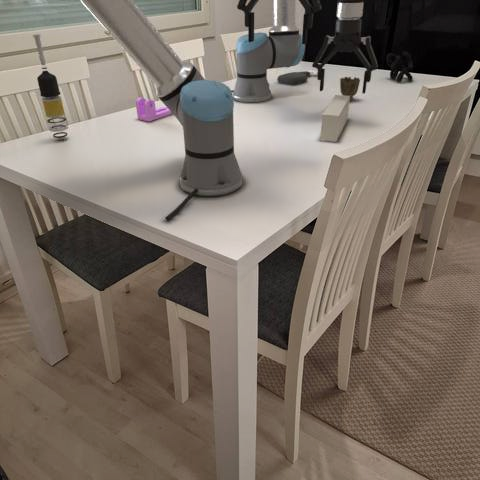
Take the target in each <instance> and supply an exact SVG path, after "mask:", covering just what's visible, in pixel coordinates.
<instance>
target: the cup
mask: <svg viewBox="0 0 480 480" xmlns="http://www.w3.org/2000/svg"><path fill="white" fill-rule="evenodd" d="M360 82H361V78H359V77H357V76H355V77H354V78H352V77H351V76H349V77H348V76H344V77H340V79H339V86H340V87H339V89H340V93H341V95H343V96H350V101H353V99H354V96H356V95H357V93H358V90H359V87H360Z"/></svg>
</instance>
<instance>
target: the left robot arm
mask: <svg viewBox="0 0 480 480" xmlns="http://www.w3.org/2000/svg"><path fill="white" fill-rule="evenodd" d="M79 1H80V2H81V3H82V4H83V6H84V7H85V8H86V9H87V10H88V11H89V12H90V14H92V15H93V17H94V18H95V19H96V20H97V21H98V22H99V24H100V25H102V27H103V28H104V29H105V30H106V31H107V33H108V34H109V35H110V36H111V37H112V38H113V40H115V41H116V43H117V44H118V45H119V46H120V47H121V49H122V50H123V51H124V52H125V53H126V54H127V55H128V56H129V57H130V58H131V59H132V61H133V62H134V63H135V64H136V65H137V66H138V68H139V69H140V70H142V72H143V73H144V74H145V76H147V77H148V79H149V80H150V81H151V82H152V83H153V84H154V86H155V95H156V97H157V98H158V99H159V100H160V101H161V102H162V104H164V105H165V107H167V108H168V109H169V110H170V111H171V112H172V115H173V116H174V117H175V118H176V119H177V121H178V122H179V124H180V125H181V126H182V130H183V141H184V142H183V143H184V154H185V155H184V158H183V164H182V168H181V171H180V177H179V183H180V184H179V185H180V188H181V189H182V191H184V192H186V193H187V194H188V195H187V196H186V198H185V199H184V200H183V201H181V203H180V204H179V205H178V206H177V207H175V209H174V210H172V211H171V212H170V213H169V214H168V215H166V216H165V220H166V221H169V220H171V219H172V218H173V217H174V216H176V215H177V214H178V213H179V212H180V211H181V210H183V208H184V207H185V206H186V205H187V204H188V203H189V201H190V200H191V199H192V198H194V196H199V197H221V196H224V195H229V194H232V193H234V192H235V191H237V190H239V189H240V188H241V187H242V185H243V174H242V171H241V168H240V165H239V163H238V160H237V157H236V154H235V133H234V127H235V126H234V106H235V103H234V99H233V92H231V88H230V87H229V86H228V85H227V84H225V83H223V82H221V81H216V80H212V79H211V80H210V79H205V78H204V77H203V75H202V74H201V73H200V71H199V70H198V69H197V67H196V66H195V65H194V64H193V62H191V61H183V60H182V59H181V58H180V57H179V55H178V54H177V53H176V51H174V49H173V48H172V46H171V45H169V43H168V42H167V41H166V40H165V38H164V37H163V36H162V34H161V33H160V32H159V31H158V29H156V27H155V26H154V25H153V24H152V22H151V21H150V19H149V18H148V17H147V16H146V15H145V13H144V12H143V11H142V10H141V9H140V7H139V6H138V5H137V4H136V2H135V1H134V0H79ZM259 1H260V0H249V1H248V0H238V3H237V5H236V8H237V10H239V11H242V12H243V13H244V27H245V28H248V30H247V34H248V42H253V41H254V33H255V12H254V11H253V12H252V10H253V9H254V8H255V7H256V5H257V4H258V2H259ZM247 2H248V3H247ZM298 2H299V3H300V4H301V6H302V7H303V9H304V10H305V12H306V13H304V14H303V17H302V19H303V21H302V34H301V35H302V44H305V45H306V44H307V43H308V33H309V31H308V30H311V29H312V27H313V23H314V22H313V21H314V14H315V13H316V12H319V11H320V10H322V4H321V1H320V0H311V3H312V4H311V3H310V2H309V0H298Z"/></svg>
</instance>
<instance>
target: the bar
mask: <svg viewBox="0 0 480 480" xmlns="http://www.w3.org/2000/svg"><path fill="white" fill-rule="evenodd" d="M350 101H351V100H350V96H343V95H342V94H341V95H340V94H335V95H334V96H333V98H332V99H331V101H330V103H329V104H328V106H327V107H326V108H325V110H324V111H323V113H322V114H321V115H322V116H321V125H320V139H319V140H320V142H321V141H322V142H333V143H337V141H338V139H339V137H340V136H341V133H342V131H343V129H344V127H345V125H346V123H347V121H348V119H349V109H350Z"/></svg>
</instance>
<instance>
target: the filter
mask: <svg viewBox="0 0 480 480" xmlns="http://www.w3.org/2000/svg"><path fill="white" fill-rule="evenodd" d="M32 37H33V38H34V41H35V46H36V48H37V51H38V58H39V61H40V64H41V66H44V67H42V68H41V69H42V72H41V73H40V74H39V75H38V76H37V77H36V80H37V84H38V88H39V93H40V97H42V98H41V101H42V104H43V108H44V112H45V117H46V118H49V119H47V120H46V122H47V123H48V124H53V125H50V126H49V127H48V130H49V131H50V132H53V134H52V137H53V138H55V139H58V140H64V138H66V137H67V136H68V133H67V132H65V131H66V130H69V125H68V124H66V123H63V122H65V121H67V118H66V117H64V116H65V115H66V114H65V110H64V106H63V100H62V97H61V91H60V88H59V82H58V79H57V76H56V75H55V74H53V73H51V72H50V71H49V70H47V69H48V67H45V66H47V65H46V58H45V55H44V52H43V48H42V42H41V34H38V33H37V34H32ZM56 119H62V120H58V121H52V120H56ZM60 134H62V135H60ZM63 134H64V135H63ZM57 135H58V136H57Z"/></svg>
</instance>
